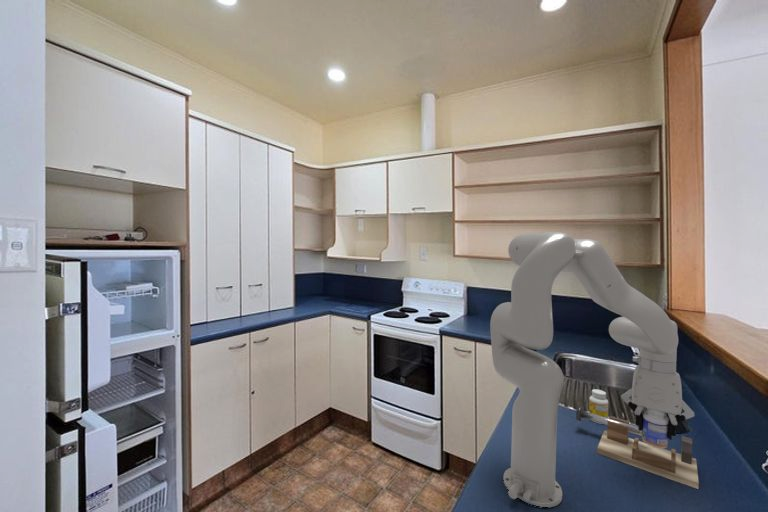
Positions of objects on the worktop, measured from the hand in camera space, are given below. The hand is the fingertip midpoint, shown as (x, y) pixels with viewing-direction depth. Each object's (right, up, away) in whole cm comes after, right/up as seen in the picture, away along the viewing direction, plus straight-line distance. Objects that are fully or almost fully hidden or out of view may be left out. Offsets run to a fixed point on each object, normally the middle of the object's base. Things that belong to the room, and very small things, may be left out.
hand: (654, 432), depth 88 cm
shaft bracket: (-1, -8, +2) cm, 9 cm away
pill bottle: (0, -3, 0) cm, 3 cm away
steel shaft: (-5, -5, +10) cm, 12 cm away
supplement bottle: (0, -8, +23) cm, 24 cm away
